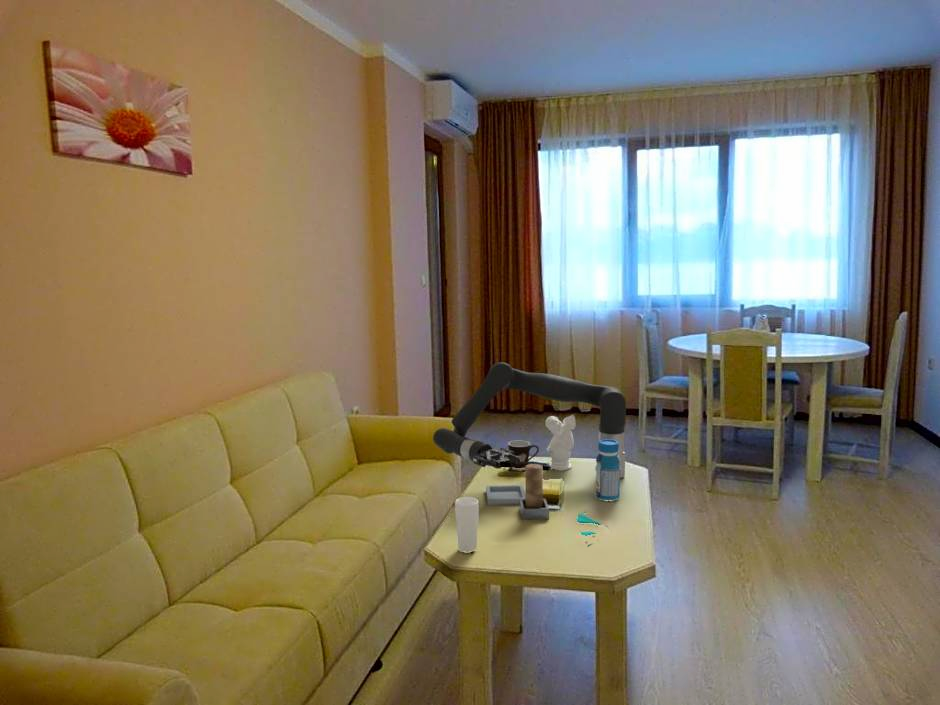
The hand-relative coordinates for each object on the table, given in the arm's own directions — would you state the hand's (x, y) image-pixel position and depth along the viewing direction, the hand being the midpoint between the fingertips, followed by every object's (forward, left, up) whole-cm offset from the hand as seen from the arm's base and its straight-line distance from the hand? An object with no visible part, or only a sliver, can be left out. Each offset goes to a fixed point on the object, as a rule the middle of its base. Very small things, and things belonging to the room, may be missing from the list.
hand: (508, 462), depth 232 cm
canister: (-7, +9, -15) cm, 19 cm away
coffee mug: (-8, -37, -15) cm, 41 cm away
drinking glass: (+15, +33, -15) cm, 39 cm away
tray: (+1, -6, -15) cm, 17 cm away
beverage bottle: (-34, -5, -15) cm, 38 cm away
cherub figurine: (-24, -39, -15) cm, 49 cm away
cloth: (-23, +20, -16) cm, 35 cm away
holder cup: (-7, +9, -15) cm, 19 cm away
